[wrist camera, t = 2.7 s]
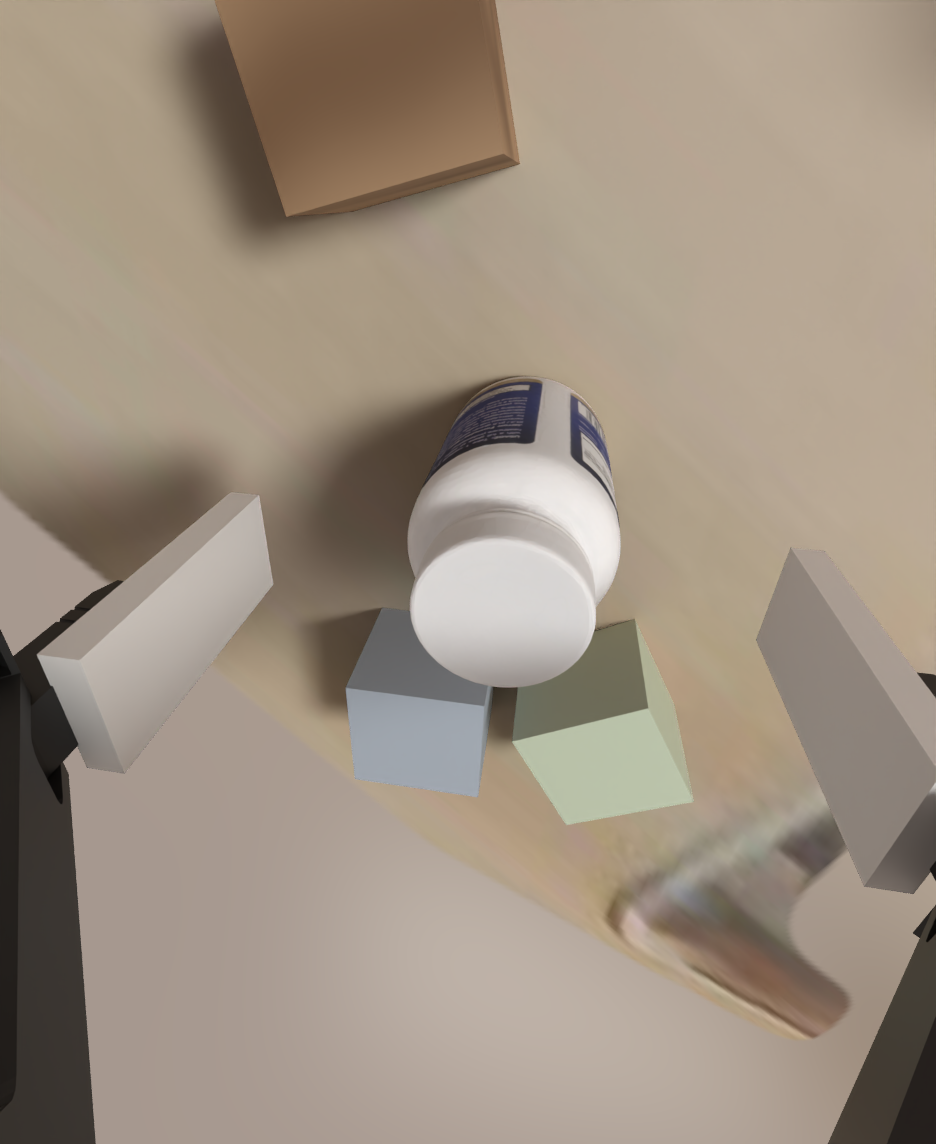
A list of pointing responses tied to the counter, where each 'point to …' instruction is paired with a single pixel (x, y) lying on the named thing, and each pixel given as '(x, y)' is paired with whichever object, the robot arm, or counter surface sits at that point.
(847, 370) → the counter surface
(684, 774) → the sage cube
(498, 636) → the pill bottle
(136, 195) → the counter surface
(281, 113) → the walnut cube
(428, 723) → the slate blue cube
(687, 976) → the counter surface
